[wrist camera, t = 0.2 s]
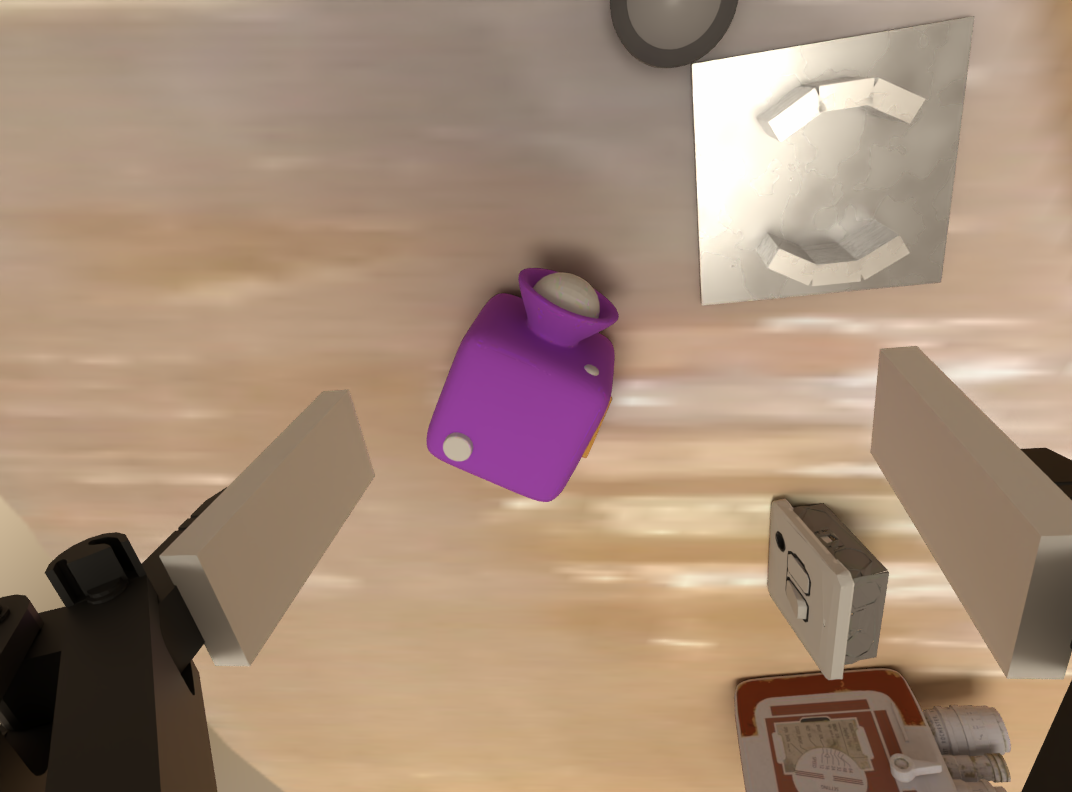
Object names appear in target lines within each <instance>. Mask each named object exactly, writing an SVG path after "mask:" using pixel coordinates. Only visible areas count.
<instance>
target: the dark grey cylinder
mask: <svg viewBox="0 0 1072 792" xmlns="http://www.w3.org/2000/svg"><path fill="white" fill-rule="evenodd" d="M737 3H738V0H610V10H611V16H612V21H613V25H614V28H615V30H616V33H617V35H618V37H619V39H620V40H621V42H622V43H623V45H624V46H625V47H626V49H627V50H628V51H629V52H630V53H631V54H632V55H633V56H634V57H635V58H636V59H638V60H639V61H641V62H643V63H645V64H647V65H650V66H653V67H658V68H672V67H679V66H683V65H687V64H689V63H692V62H694V61H696V60H698V59H700V58H701V57H703V56H704V55H705V54H707V53H708V52H709V51H710V50H711V49H713V48H714V47H715V46H716V44H717V43H718V42H719V41H720V40H721V39H722V37H723V36H724V34H725V33H726V31H727V29H728V27H729V26H730V24H731V22H732V19H733V17H734V14H735V11H736V7H737Z"/></svg>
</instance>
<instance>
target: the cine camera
mask: <svg viewBox="0 0 1072 792" xmlns="http://www.w3.org/2000/svg"><path fill="white" fill-rule="evenodd" d="M734 702H735V719H736V727H737V735H738V743H739V749H740V756H741V763H742V770H743V777H744V784H745V790H746V792H1006V790H1005V789H1004V788H1003V787H993V786H992V785H991V784H990V783H989V782H988V781H993V782H995V783H996V782H1010V780H1011V778H1010V773H1009V770H1008V767H1007V764H1006V762H1005V760H1004V758H1003V756H1002V755H1004V754H1005V752H1010V750H1011V744H1010V739H1009V736H1008V732H1007V729H1006V727H1005V724H1004V722H1003V720H1002V718H1001V716H1000V714H999V713H998V711H997V710H996V709H995V708H993V707H991V708H989V707H987V706H972V705H968V706H958V705H950V706H949V707H946V708H942V707H941V706H934V708H933V709H930V710H924V711H923V712H922V710H921V708H920V706H919V703H918V702H917V700H916V698H915V696H914V694H913V692H912V691H911V689H910V687H909V685H908V683H907V681H906V680H905V679H904V678H903V677H902V675H901V674H900V673H899V672H897V671H894V670H892V669H886V668H874V669H859V670H847V671H843V679H835V680H828V679H826V678H825V676H824V675H823V673H812V674H800V675H788V676H777V677H765V678H757V679H749V680H746V681H743V682H741V683H740V684H738V685H737V687H736V691H735V696H734Z"/></svg>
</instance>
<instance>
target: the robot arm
mask: <svg viewBox="0 0 1072 792" xmlns="http://www.w3.org/2000/svg"><path fill="white" fill-rule="evenodd" d="M871 454H872V455H873V457H874V459H875V460H876V462H877V464H878V465H879V467H880V469H881V470H882V472H883V474H884V475H885V477H886V479H887V480H888V482H889V484H890V485H891V487H892V489H893V490H894V492H895V494H896V495H897V497H898V499H899V500H900V502H901V504H902V505H903V507H904V509H905V510H906V512H907V513H908V515H909V517H910V518H911V520H912V522H913V523H914V525H915V527H916V528H917V530H918V532H919V533H920V535H921V537H922V538H923V540H924V542H925V543H926V545H927V547H928V548H929V550H930V552H931V553H932V555H933V557H934V558H935V560H936V562H937V563H938V565H939V567H940V568H941V570H942V572H943V573H944V575H945V576H946V578H947V580H948V581H949V583H950V585H951V586H952V588H953V590H954V591H955V593H956V595H957V596H958V598H959V600H960V601H961V603H962V605H963V606H964V608H965V610H966V611H967V613H968V615H969V616H970V618H971V620H972V621H973V623H974V625H975V626H976V628H977V630H978V631H979V633H980V635H981V636H982V638H983V640H984V641H985V643H986V644H987V646H988V648H989V649H990V651H991V653H992V654H993V656H994V658H995V659H996V661H997V663H998V664H999V666H1000V668H1001V669H1002V671H1003V673H1004V674H1005V676H1006V678H1008V679H1064V676H1065V673H1066V669H1067V666H1068V663H1069V659H1070V656H1071V652H1072V460H1070V459H1068V458H1066V457H1064V456H1062V455H1060V454H1058V453H1056V452H1054V451H1052V450H1049V449H1047V448H1031V449H1020V448H1019V447H1018V446H1017V445H1016V444H1015V443H1014V442H1013V441H1012V440H1011V439H1010V438H1009V437H1008V436H1007V435H1006V434H1005V433H1004V432H1003V431H1002V430H1000V429H999V428H998V427H997V426H996V425H995V424H994V423H993V422H992V421H991V420H990V419H989V418H988V417H987V416H986V415H985V414H984V413H983V412H982V411H981V410H980V409H979V408H978V407H977V406H976V405H975V404H974V403H973V402H972V401H971V400H970V399H969V398H968V397H967V396H966V395H965V394H964V393H963V392H962V391H961V390H960V389H959V388H958V387H957V386H956V385H955V384H954V383H953V382H952V381H951V380H950V379H949V378H948V377H947V376H946V375H945V374H944V373H943V372H942V371H941V370H940V369H939V368H938V367H937V366H936V365H935V364H934V363H933V362H932V361H931V360H930V359H929V358H928V357H927V356H926V355H925V354H924V353H923V352H922V351H921V350H920V349H919V348H918V347H917V346H911V347H898V348H885V349H880V353H879V364H878V375H877V386H876V397H875V408H874V420H873V431H872V442H871ZM374 477H375V473H374V470H373V467H372V464H371V460H370V457H369V454H368V451H367V447H366V444H365V441H364V438H363V434H362V431H361V428H360V424H359V421H358V418H357V415H356V411H355V408H354V405H353V402H352V398H351V395H350V392H349V390H336V391H323V392H322V393H321V394H320V395H319V396H318V397H317V398H316V399H315V400H314V401H313V402H312V403H311V404H310V405H309V406H308V407H307V408H306V409H305V410H304V411H303V412H302V413H301V414H300V415H299V416H298V417H297V418H296V419H295V420H294V421H293V422H292V423H291V424H290V425H289V426H288V427H287V428H286V429H285V430H284V431H283V432H282V433H281V434H280V435H279V436H278V437H277V438H276V439H275V440H274V441H273V442H272V443H271V444H270V445H269V446H268V447H267V448H266V449H265V450H264V451H263V452H262V453H261V454H260V455H259V456H258V457H257V458H256V459H255V460H254V461H253V462H252V463H251V464H250V465H249V466H248V467H247V468H246V469H245V470H244V471H243V472H242V473H241V474H240V475H239V476H238V477H237V478H236V479H235V480H234V481H233V482H232V483H231V484H230V485H229V486H228V487H226V488H225V489H223V490H222V491H220V492H219V493H217V494H215V495H214V496H212V497H211V498H209V499H208V500H206V501H205V502H204V503H203V504H202V505H201V506H200V507H199V508H198V509H197V510H196V511H195V512H194V513H193V514H192V515H191V518H190V519H187V520H186V521H185V522H184V523H183V524H182V525H181V526H180V527H179V528H178V531H175V532H173V533H172V534H171V535H170V536H169V537H168V538H167V539H166V540H165V541H164V542H163V543H162V544H161V545H160V546H159V547H158V548H157V549H156V550H155V551H154V552H153V553H152V554H151V555H150V556H149V557H148V558H147V559H146V560H145V561H144V562H143V563H142V564H141V563H140V561H139V559H138V557H137V555H136V553H135V551H134V549H133V548H132V546H131V544H130V542H129V540H128V538H127V537H126V535H125V534H121V533H117V532H115V533H106V534H101V535H98V536H95V537H92V538H88V539H86V540H84V541H82V542H80V543H78V544H76V545H73V546H72V547H70V548H69V549H67V550H66V551H64V552H63V553H61V554H60V555H58V556H57V557H56V558H55V559H54V560H53V561H52V562H51V563H50V564H49V566H48V568H47V569H46V571H45V574H46V575H47V577H48V579H49V580H50V582H51V583H52V585H53V587H54V588H55V590H56V592H57V593H58V595H59V596H60V598H61V599H62V601H63V603H64V604H65V606H66V607H62V608H58V609H54V610H50V611H45V612H41V613H38V612H37V611H36V609H35V608H34V606H33V605H32V603H31V602H30V600H29V599H28V598H27V597H26V596H25V595H11V596H6V597H2V598H0V723H1V724H0V792H217V786H216V780H215V773H214V767H213V761H212V754H211V748H210V741H209V734H208V728H207V721H206V715H205V708H204V702H203V695H202V689H201V683H200V676H199V672H198V670H197V668H196V666H195V664H194V662H193V660H192V659H193V657H194V656H195V655H196V653H197V652H198V651H199V649H200V648H201V647H202V646H203V644H204V645H205V646H206V648H207V650H208V652H209V654H210V656H211V658H212V660H213V662H214V664H215V666H250V665H251V664H252V662H253V661H254V659H255V658H256V656H257V655H258V653H259V652H260V650H261V649H262V647H263V646H264V644H265V643H266V641H267V640H268V638H269V637H270V635H271V633H272V632H273V630H274V629H275V627H276V626H277V624H278V623H279V621H280V620H281V618H282V617H283V615H284V614H285V612H286V611H287V609H288V608H289V606H290V605H291V603H292V602H293V600H294V598H295V597H296V595H297V594H298V592H299V591H300V589H301V588H302V586H303V585H304V583H305V582H306V580H307V579H308V577H309V576H310V574H311V573H312V571H313V570H314V568H315V567H316V565H317V563H318V562H319V560H320V559H321V557H322V556H323V554H324V553H325V551H326V550H327V548H328V547H329V545H330V544H331V542H332V541H333V539H334V538H335V536H336V535H337V533H338V532H339V530H340V529H341V527H342V525H343V524H344V522H345V521H346V519H347V518H348V516H349V515H350V513H351V512H352V510H353V509H354V507H355V506H356V504H357V503H358V501H359V500H360V498H361V497H362V495H363V494H364V492H365V490H366V489H367V487H368V486H369V484H370V483H371V481H372V480H373V478H374ZM1022 792H1072V681H1071V683H1070V685H1069V687H1068V690H1067V692H1066V694H1065V696H1064V698H1063V701H1062V703H1061V705H1060V707H1059V710H1058V712H1057V714H1056V716H1055V718H1054V721H1053V723H1052V725H1051V727H1050V730H1049V732H1048V734H1047V736H1046V738H1045V741H1044V743H1043V745H1042V747H1041V749H1040V752H1039V754H1038V756H1037V758H1036V761H1035V763H1034V765H1033V767H1032V769H1031V772H1030V774H1029V776H1028V778H1027V780H1026V783H1025V785H1024V787H1023V789H1022Z"/></svg>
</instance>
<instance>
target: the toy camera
mask: <svg viewBox="0 0 1072 792" xmlns="http://www.w3.org/2000/svg"><path fill="white" fill-rule="evenodd" d="M519 287H520V291H521V295H522V298H520V297H517V296H514V295H511V294H506V293H501V294H497V295H495V296H494V297H492V298H491V299H490V300H489V301H488V302H487V303H486V305H485V306H484V307H483V309H482V310H481V312H480V313H479V315H478V316H477V318H476V319H475V321H474V322H473V324H472V325H471V327H470V328H469V330H468V332H467V333H466V335H465V337H464V338H463V340H462V342H461V344H460V346H459V349H458V351H457V353H456V356H455V358H454V361H453V363H452V366H451V369H450V371H449V374H448V376H447V379H446V382H445V384H444V387H443V390H442V392H441V395H440V397H439V400H438V403H437V405H436V408H435V411H434V414H433V416H432V419H431V422H430V425H429V428H428V433H427V447H428V450H429V451H430V452H431V454H433V455H434V456H435V457H437V458H438V459H440V460H442V461H444V462H446V463H448V464H450V465H452V466H455V467H457V468H459V469H462V470H464V471H466V472H469V473H471V474H473V475H476V476H478V477H480V478H483V479H485V480H487V481H490V482H492V483H494V484H497V485H499V486H501V487H504V488H506V489H508V490H511V491H513V492H516V493H518V494H521V495H523V496H526V497H528V498H531V499H534V500H537V501H542V502H549V501H552V500H553V499H555V498H556V497H557V496H558V495H559V494H560V493H561V492H562V490H563V489H564V487H565V486H566V484H567V482H568V481H569V479H570V477H571V475H572V474H573V472H574V470H575V468H576V466H577V465H578V463H579V461H580V459H581V457H584V458H587V456H588V454H589V451H590V449H591V447H592V445H593V442H594V440H595V438H596V435H597V433H598V431H599V428H600V426H601V424H602V421H603V419H604V417H605V415H606V412H607V410H608V408H609V405H610V403H611V401H612V397H611V391H612V383H613V373H614V348H613V345H612V343H611V342H610V340H609V339H608V338H606V337H605V336H603V335H602V334H600V333H598V332H600V331H602V330H604V329H606V328H608V327H609V326H611V325H612V324H614V323H615V322H616V321H617V320H618V312H617V310H616V308H615V307H614V305H613V304H612V303H611V302H610V301H609V300H608V299H607V298H606V297H605V296H603V295H602V294H601V293H599V292H598V291H597V290H595V289H594V288H592V286H591V285H590V284H589V283H588V282H586V281H585V280H584V279H582V278H580V277H579V276H576V275H574V274H571V273H564V272H561V273H559V272H556V271H552V270H548V269H542V268H528V269H524V270H522V271H521V272H520V273H519Z"/></svg>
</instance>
